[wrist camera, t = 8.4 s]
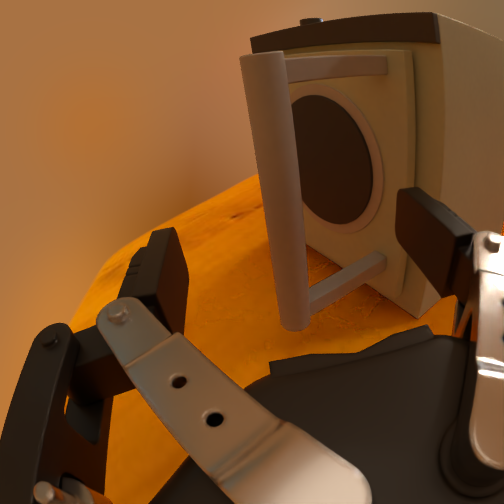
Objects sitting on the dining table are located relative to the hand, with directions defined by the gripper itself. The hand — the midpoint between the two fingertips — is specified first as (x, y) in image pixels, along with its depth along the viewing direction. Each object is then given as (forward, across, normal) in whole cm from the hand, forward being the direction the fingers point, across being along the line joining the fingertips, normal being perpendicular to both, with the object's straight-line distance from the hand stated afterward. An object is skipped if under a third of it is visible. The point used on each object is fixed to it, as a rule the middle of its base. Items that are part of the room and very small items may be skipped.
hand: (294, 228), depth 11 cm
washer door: (+9, +1, -8) cm, 12 cm away
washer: (+13, +12, -10) cm, 20 cm away
